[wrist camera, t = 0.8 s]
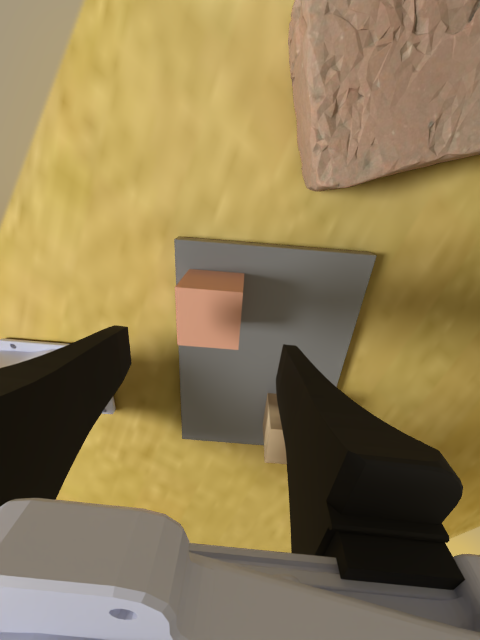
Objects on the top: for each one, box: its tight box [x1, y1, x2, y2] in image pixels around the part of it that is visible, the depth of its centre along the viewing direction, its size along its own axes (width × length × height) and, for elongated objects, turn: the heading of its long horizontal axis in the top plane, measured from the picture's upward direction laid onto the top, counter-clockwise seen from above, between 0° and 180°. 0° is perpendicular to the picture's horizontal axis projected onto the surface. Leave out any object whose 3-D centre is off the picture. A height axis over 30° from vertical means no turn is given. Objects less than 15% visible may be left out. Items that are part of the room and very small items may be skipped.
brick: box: [288, 0, 480, 191], centre depth 13 cm, size 16×8×5 cm, turn 103°
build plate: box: [174, 237, 377, 445], centre depth 23 cm, size 14×20×1 cm
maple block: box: [263, 393, 287, 464], centre depth 23 cm, size 4×4×4 cm
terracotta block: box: [175, 269, 244, 350], centre depth 18 cm, size 4×4×4 cm
